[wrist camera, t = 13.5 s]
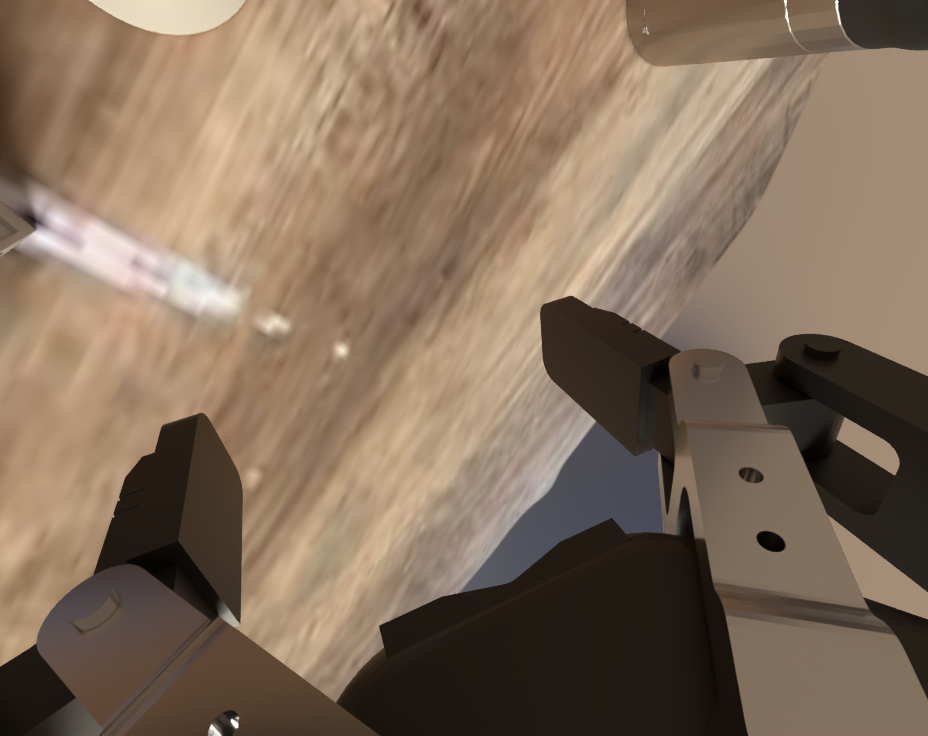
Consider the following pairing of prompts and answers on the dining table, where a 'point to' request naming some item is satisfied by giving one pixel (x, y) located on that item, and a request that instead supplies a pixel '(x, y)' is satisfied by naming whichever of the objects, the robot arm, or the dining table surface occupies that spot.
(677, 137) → the dining table surface
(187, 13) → the coaster
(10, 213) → the stool
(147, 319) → the dining table surface
